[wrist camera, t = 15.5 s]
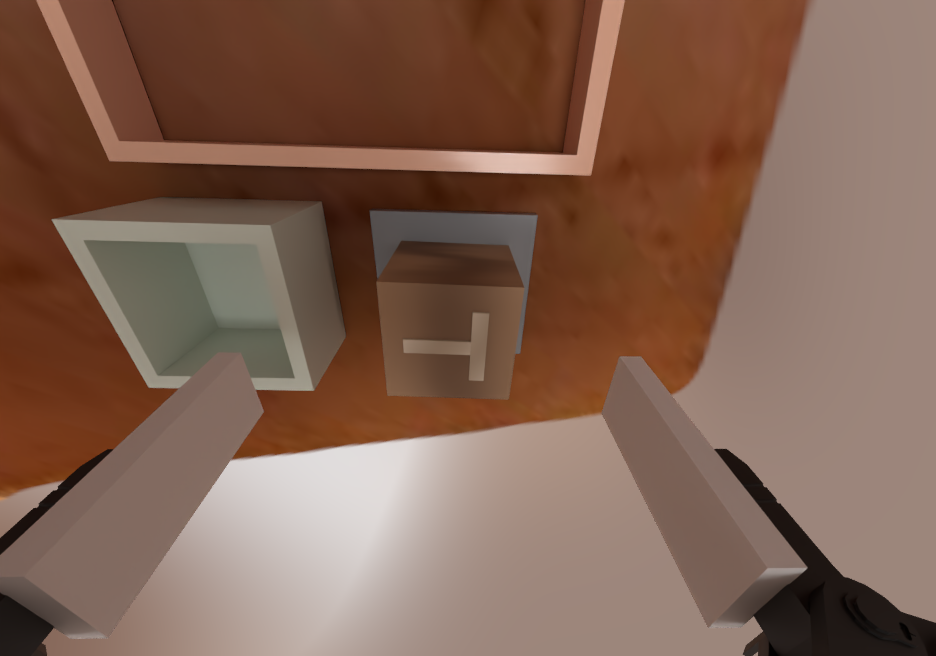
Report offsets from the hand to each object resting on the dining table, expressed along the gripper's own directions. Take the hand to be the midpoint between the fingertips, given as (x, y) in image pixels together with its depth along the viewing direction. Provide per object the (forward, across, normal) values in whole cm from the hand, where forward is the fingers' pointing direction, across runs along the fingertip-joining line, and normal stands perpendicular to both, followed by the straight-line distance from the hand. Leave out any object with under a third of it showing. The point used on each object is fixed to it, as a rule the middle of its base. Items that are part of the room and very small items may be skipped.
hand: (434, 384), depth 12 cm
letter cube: (+9, +1, -1) cm, 9 cm away
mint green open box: (+10, -11, 0) cm, 15 cm away
